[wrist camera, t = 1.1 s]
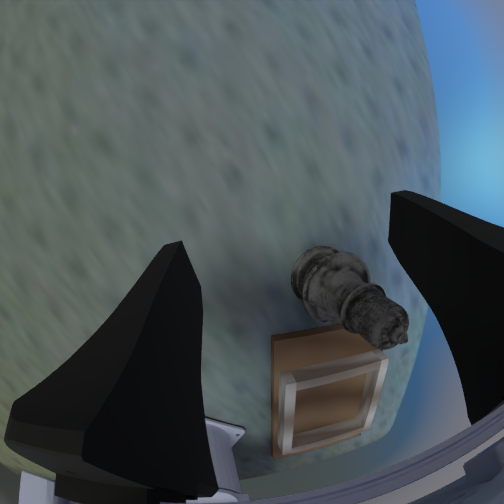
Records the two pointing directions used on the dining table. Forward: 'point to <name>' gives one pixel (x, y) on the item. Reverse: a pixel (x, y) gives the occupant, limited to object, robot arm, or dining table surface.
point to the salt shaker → (348, 297)
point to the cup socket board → (322, 388)
